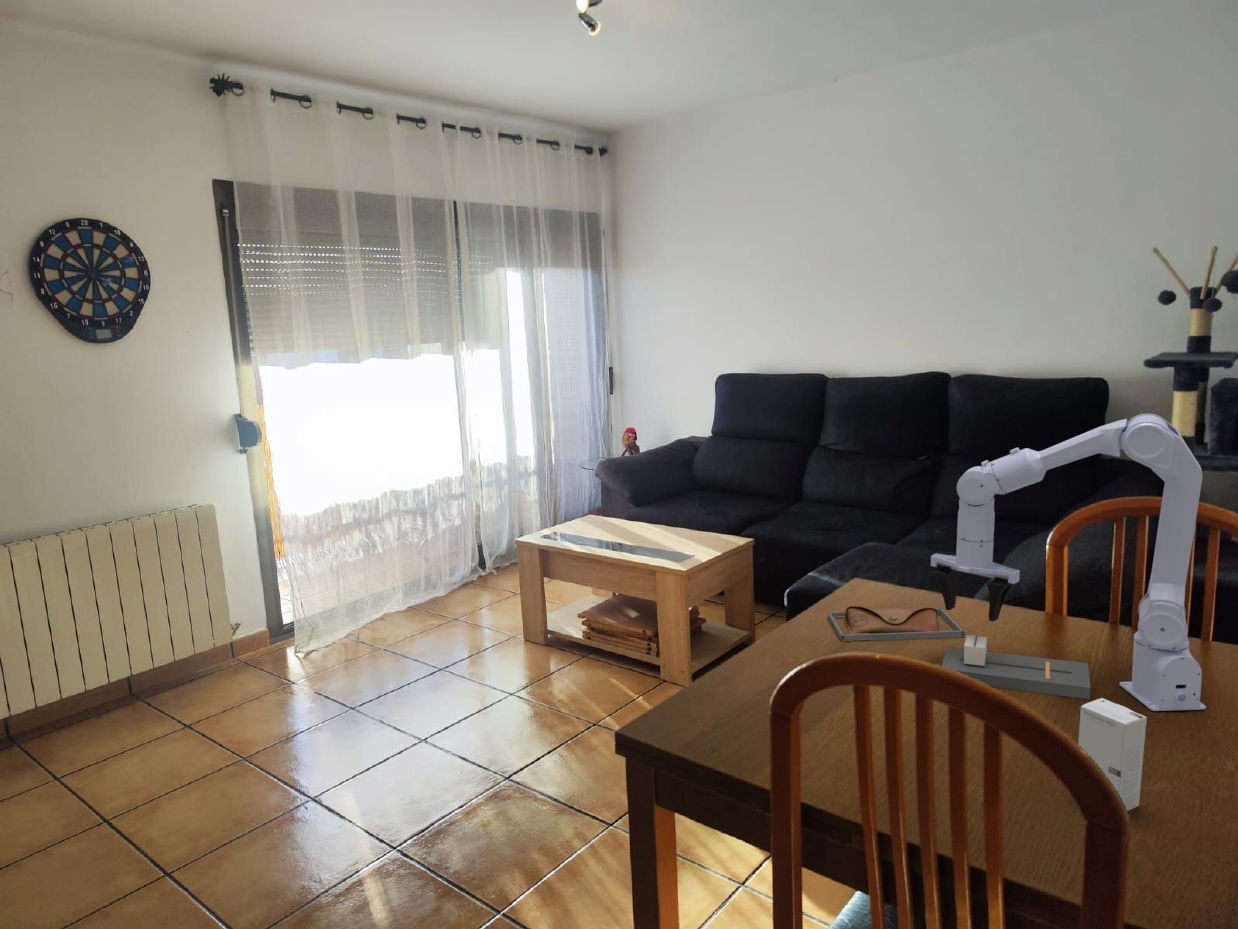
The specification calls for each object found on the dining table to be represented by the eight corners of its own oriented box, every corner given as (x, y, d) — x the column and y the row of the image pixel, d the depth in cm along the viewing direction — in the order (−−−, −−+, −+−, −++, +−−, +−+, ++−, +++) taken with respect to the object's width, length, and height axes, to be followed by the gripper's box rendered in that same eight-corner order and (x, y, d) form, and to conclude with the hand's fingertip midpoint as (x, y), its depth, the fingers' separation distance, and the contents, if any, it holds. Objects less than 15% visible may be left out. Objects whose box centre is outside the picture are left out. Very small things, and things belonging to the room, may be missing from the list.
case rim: (964, 637, 158) (964, 631, 158) (841, 641, 160) (841, 635, 160) (941, 613, 171) (941, 608, 171) (828, 618, 173) (828, 612, 172)
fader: (986, 654, 144) (986, 636, 144) (984, 666, 140) (984, 647, 139) (966, 652, 146) (966, 634, 145) (963, 663, 141) (964, 645, 141)
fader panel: (1087, 674, 140) (1087, 663, 140) (1090, 699, 131) (1090, 687, 131) (947, 657, 150) (947, 646, 149) (940, 680, 141) (940, 668, 141)
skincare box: (1073, 793, 107) (1076, 704, 105) (1096, 783, 109) (1100, 696, 107) (1119, 817, 101) (1123, 724, 99) (1143, 807, 103) (1148, 715, 101)
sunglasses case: (848, 635, 162) (846, 601, 165) (845, 641, 169) (844, 608, 171) (945, 637, 159) (942, 602, 161) (939, 643, 165) (936, 609, 168)
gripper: (923, 535, 144) (920, 609, 147) (1008, 551, 134) (1003, 631, 136) (943, 527, 149) (940, 599, 151) (1026, 541, 138) (1022, 619, 141)
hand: (971, 614), depth 144 cm, fingers open, 7 cm apart
